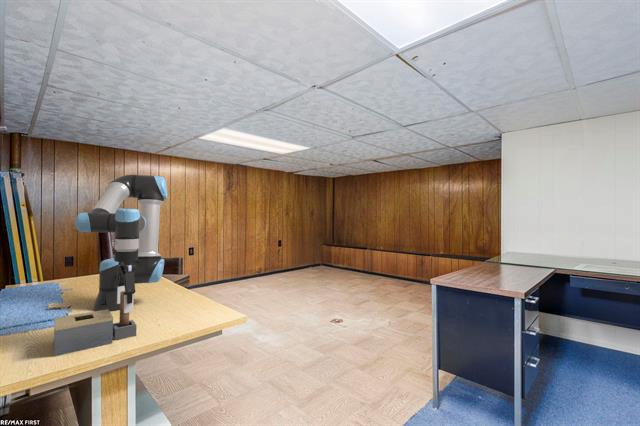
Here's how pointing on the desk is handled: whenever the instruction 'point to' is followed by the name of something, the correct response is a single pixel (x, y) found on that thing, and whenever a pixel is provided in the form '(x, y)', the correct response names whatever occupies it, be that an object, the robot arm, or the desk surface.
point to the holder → (124, 330)
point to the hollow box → (82, 331)
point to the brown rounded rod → (123, 316)
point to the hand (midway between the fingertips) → (124, 307)
